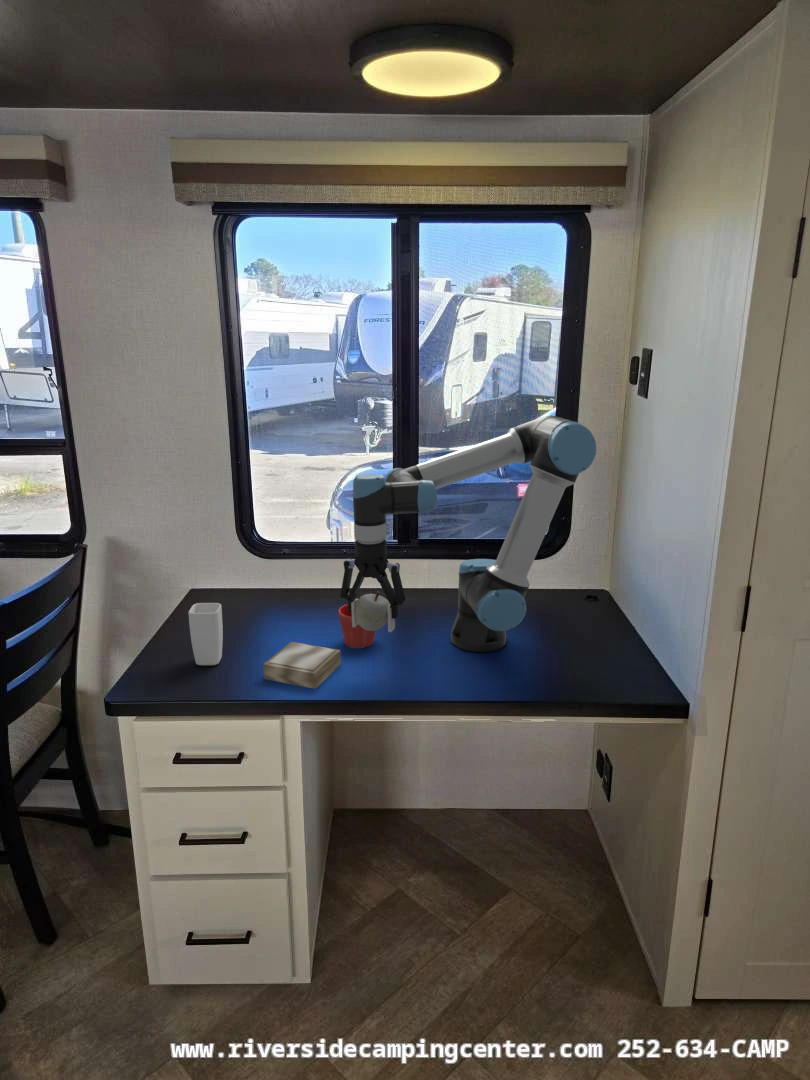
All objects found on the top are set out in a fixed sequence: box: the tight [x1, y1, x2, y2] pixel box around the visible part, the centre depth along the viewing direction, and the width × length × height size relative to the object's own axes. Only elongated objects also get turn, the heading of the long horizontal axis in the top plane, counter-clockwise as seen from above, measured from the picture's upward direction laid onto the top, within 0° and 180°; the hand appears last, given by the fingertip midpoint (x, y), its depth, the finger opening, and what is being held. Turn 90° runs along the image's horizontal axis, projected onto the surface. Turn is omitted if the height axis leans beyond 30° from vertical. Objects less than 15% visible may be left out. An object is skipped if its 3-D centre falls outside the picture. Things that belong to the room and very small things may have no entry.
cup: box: [187, 602, 224, 667], centre depth 186 cm, size 7×7×15 cm
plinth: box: [263, 641, 342, 690], centre depth 183 cm, size 14×14×4 cm
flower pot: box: [338, 604, 377, 649], centre depth 199 cm, size 11×11×10 cm
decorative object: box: [355, 591, 390, 631], centre depth 179 cm, size 9×9×10 cm
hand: (373, 627), depth 180 cm, fingers closed on decorative object, 9 cm apart
